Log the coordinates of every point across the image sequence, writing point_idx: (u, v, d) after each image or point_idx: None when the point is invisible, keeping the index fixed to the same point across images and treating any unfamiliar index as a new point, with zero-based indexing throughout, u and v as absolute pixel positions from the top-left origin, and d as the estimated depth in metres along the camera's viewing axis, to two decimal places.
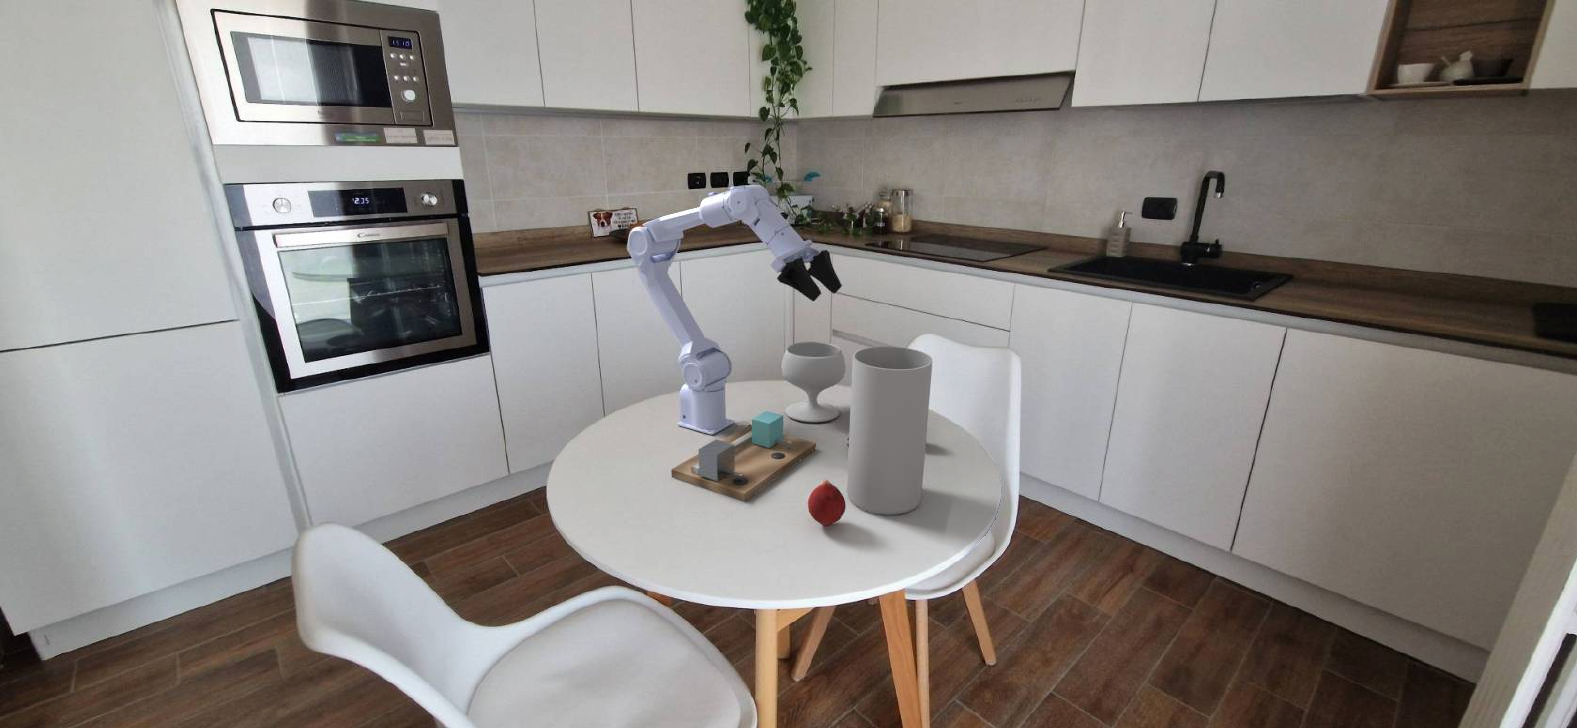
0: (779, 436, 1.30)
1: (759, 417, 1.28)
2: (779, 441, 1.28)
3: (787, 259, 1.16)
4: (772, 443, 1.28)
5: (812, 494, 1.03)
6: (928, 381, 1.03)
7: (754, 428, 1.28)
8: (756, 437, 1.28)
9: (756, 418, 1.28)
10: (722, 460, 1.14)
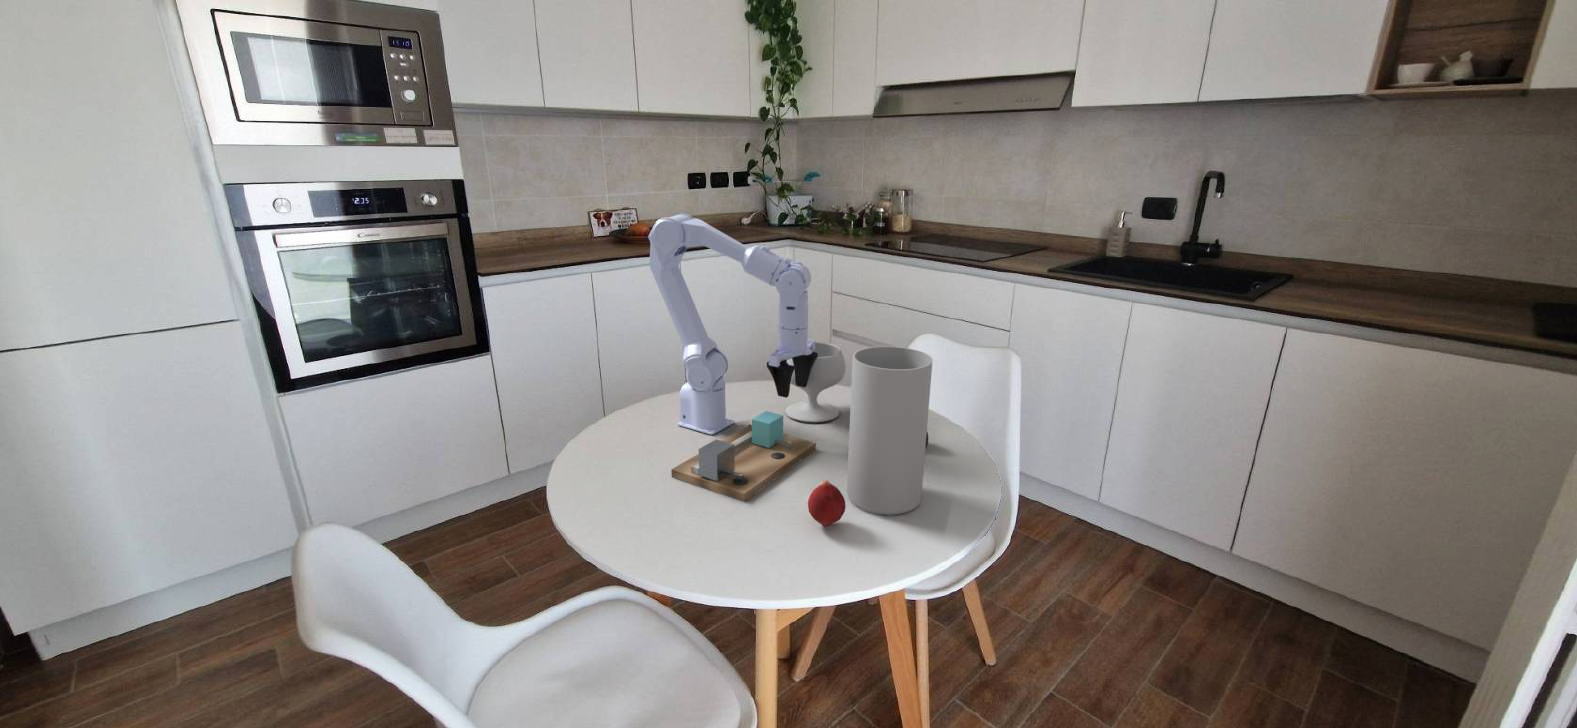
0: (779, 436, 1.30)
1: (759, 417, 1.28)
2: (779, 441, 1.28)
3: None
4: (772, 443, 1.28)
5: (812, 494, 1.03)
6: (928, 381, 1.03)
7: (754, 428, 1.28)
8: (756, 437, 1.28)
9: (756, 418, 1.28)
10: (722, 460, 1.14)
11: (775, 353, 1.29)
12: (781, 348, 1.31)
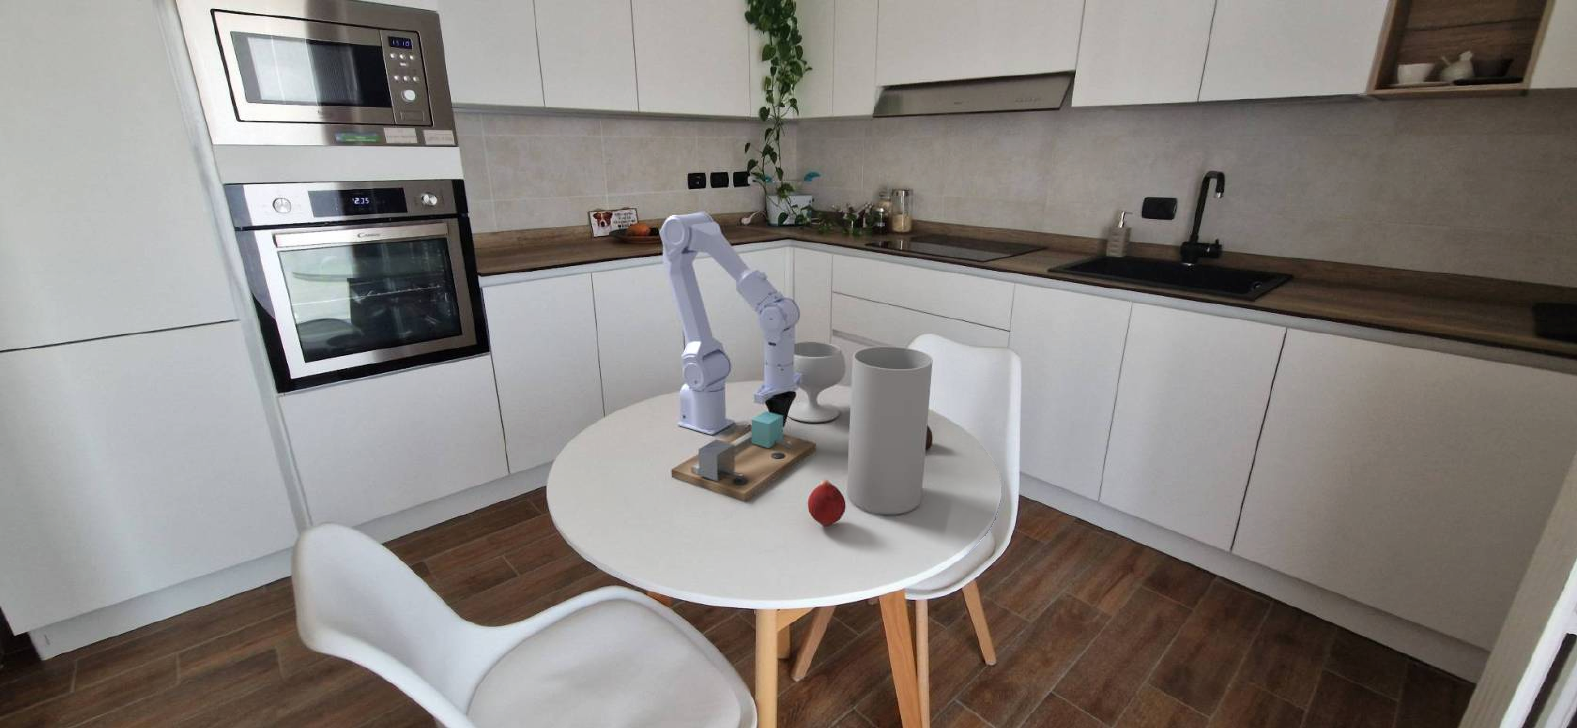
0: (779, 436, 1.30)
1: (759, 418, 1.28)
2: (779, 441, 1.28)
3: None
4: (772, 443, 1.28)
5: (812, 494, 1.03)
6: (928, 381, 1.03)
7: (754, 428, 1.28)
8: (756, 437, 1.28)
9: (756, 418, 1.28)
10: (722, 460, 1.14)
11: (761, 390, 1.27)
12: (767, 384, 1.28)
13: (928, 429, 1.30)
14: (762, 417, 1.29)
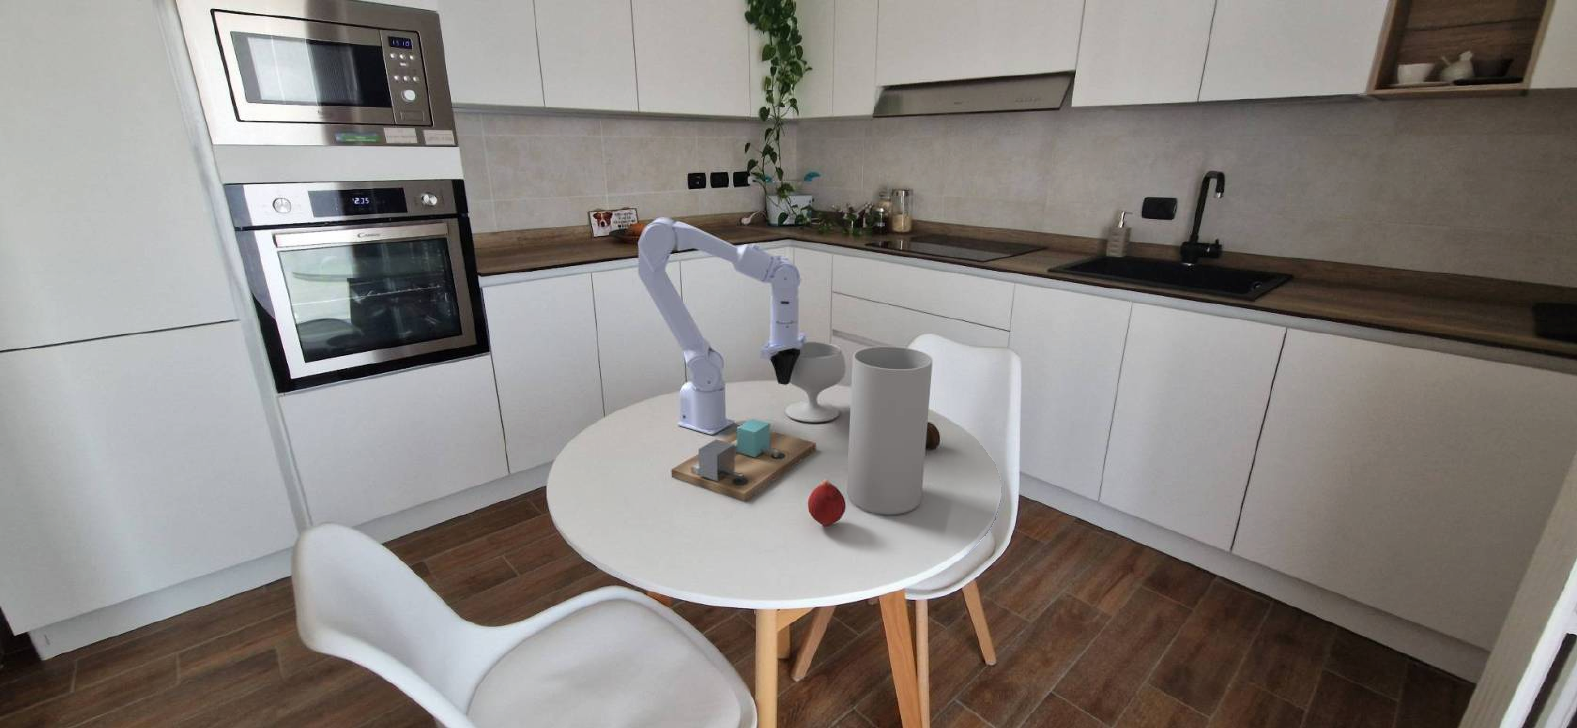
0: (765, 445, 1.26)
1: (744, 426, 1.24)
2: (765, 450, 1.24)
3: None
4: (758, 452, 1.24)
5: (812, 494, 1.03)
6: (928, 381, 1.03)
7: (739, 437, 1.24)
8: (741, 446, 1.24)
9: (742, 426, 1.24)
10: (722, 460, 1.14)
11: (766, 346, 1.33)
12: (772, 341, 1.35)
13: (935, 428, 1.30)
14: (748, 425, 1.25)
